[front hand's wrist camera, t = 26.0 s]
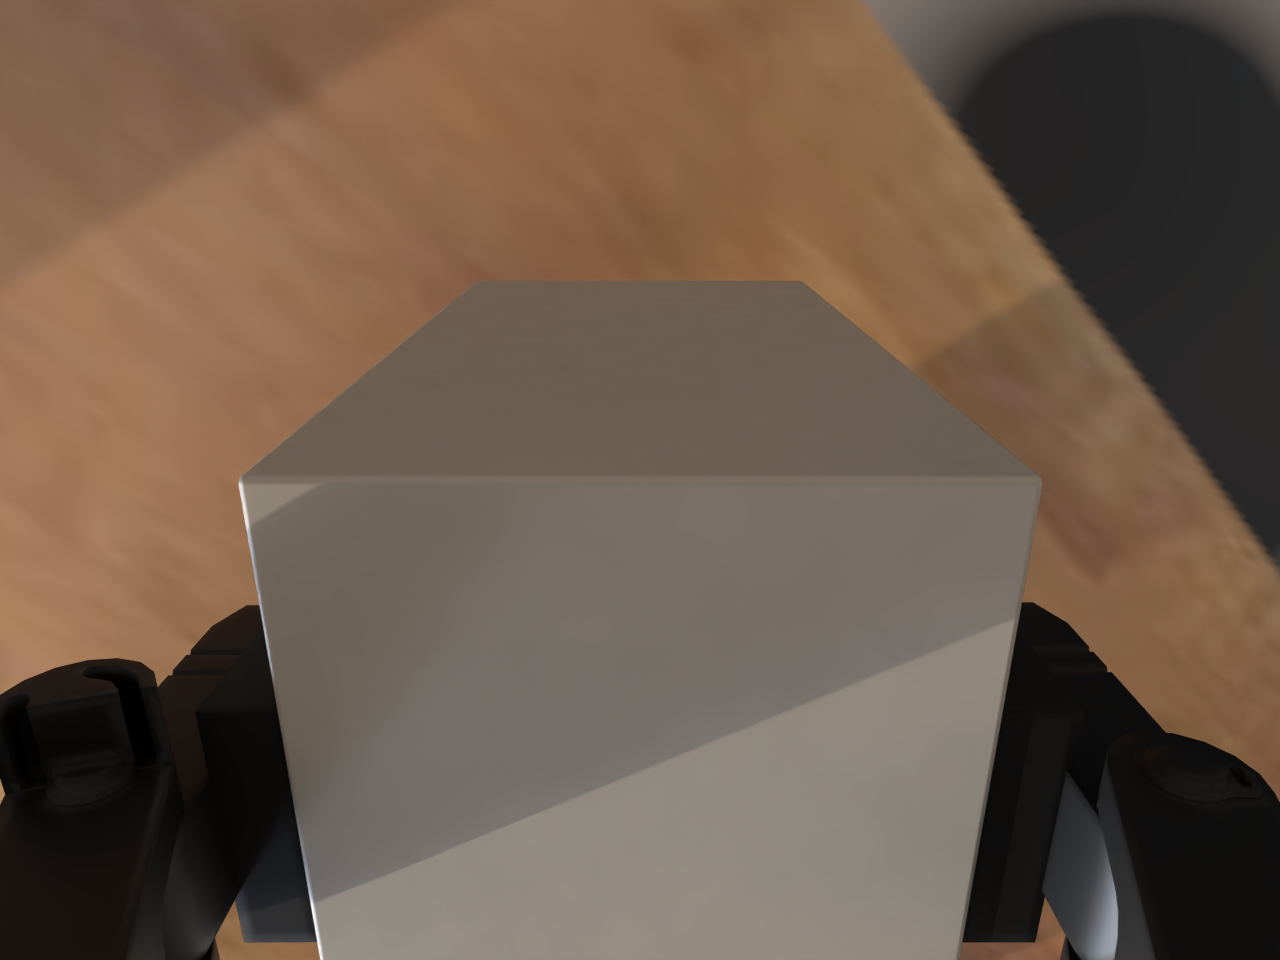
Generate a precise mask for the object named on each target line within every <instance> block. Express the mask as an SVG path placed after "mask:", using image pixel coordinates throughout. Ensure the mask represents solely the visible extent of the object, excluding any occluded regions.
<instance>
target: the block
mask: <svg viewBox="0 0 1280 960" xmlns="http://www.w3.org/2000/svg"><path fill="white" fill-rule="evenodd" d="M239 489H240V495H241V500H242V506H243V512H244V518H245V524H246V530H247V535H248V541H249V547H250V553H251V559H252V564H253V570H254V576H255V582H256V588H257V594H258V599H259V605H260V611H261V617H262V623H263V629H264V634H265V640H266V646H267V652H268V658H269V663H270V669H271V675H272V681H273V687H274V693H275V698H276V704H277V710H278V716H279V722H280V727H281V733H282V739H283V745H284V751H285V757H286V762H287V768H288V774H289V780H290V786H291V791H292V797H293V803H294V809H295V815H296V821H297V826H298V832H299V838H300V844H301V850H302V856H303V861H304V867H305V873H306V879H307V885H308V890H309V896H310V902H311V908H312V914H313V920H314V925H315V931H316V937H317V943H318V949H319V954H320V960H959V958H960V952H961V947H962V941H963V935H964V929H965V924H966V918H967V912H968V907H969V901H970V895H971V889H972V884H973V878H974V872H975V867H976V861H977V855H978V850H979V844H980V838H981V832H982V827H983V821H984V815H985V810H986V804H987V798H988V792H989V787H990V781H991V775H992V770H993V764H994V758H995V752H996V747H997V741H998V735H999V730H1000V724H1001V718H1002V713H1003V707H1004V701H1005V695H1006V690H1007V684H1008V678H1009V673H1010V667H1011V661H1012V655H1013V650H1014V644H1015V638H1016V633H1017V627H1018V621H1019V615H1020V610H1021V604H1022V598H1023V593H1024V587H1025V581H1026V576H1027V570H1028V564H1029V558H1030V553H1031V547H1032V541H1033V536H1034V530H1035V524H1036V518H1037V513H1038V507H1039V501H1040V496H1041V490H1042V480H1041V477H1040V476H1039V475H1038V474H1036V473H1035V472H1034V471H1033V470H1031V469H1030V468H1029V467H1028V466H1027V465H1025V464H1024V463H1023V462H1022V461H1020V460H1019V459H1018V458H1017V457H1016V456H1014V455H1013V454H1012V453H1011V452H1009V451H1008V450H1007V449H1006V448H1005V447H1003V446H1002V445H1001V444H1000V443H998V442H997V441H996V440H995V439H994V438H992V437H991V436H990V435H989V434H988V433H986V432H985V431H984V430H983V429H981V428H980V427H979V426H978V425H977V424H975V423H974V422H973V421H972V420H970V419H969V418H968V417H967V416H966V415H964V414H963V413H962V412H961V411H959V410H958V409H957V408H956V407H955V406H953V405H952V404H951V403H950V402H949V401H947V400H946V399H945V398H944V397H942V396H941V395H940V394H939V393H938V392H936V391H935V390H934V389H933V388H931V387H930V386H929V385H928V384H927V383H925V382H924V381H923V380H922V379H920V378H919V377H918V376H917V375H916V374H914V373H913V372H912V371H911V370H910V369H908V368H907V367H906V366H905V365H903V364H902V363H901V362H900V361H899V360H897V359H896V358H895V357H894V356H892V355H891V354H890V353H889V352H888V351H886V350H885V349H884V348H883V347H881V346H880V345H879V344H878V343H877V342H875V341H874V340H873V339H872V338H871V337H869V336H868V335H867V334H866V333H864V332H863V331H862V330H861V329H860V328H858V327H857V326H856V325H855V324H853V323H852V322H851V321H850V320H849V319H847V318H846V317H845V316H844V315H842V314H841V313H840V312H839V311H838V310H836V309H835V308H834V307H833V306H831V305H830V304H829V303H828V302H827V301H825V300H824V299H823V298H822V297H821V296H819V295H818V294H817V293H816V292H814V291H813V290H812V289H811V288H810V287H808V286H807V285H806V284H805V283H803V282H801V281H477V282H475V283H474V284H473V285H472V286H470V287H469V288H468V289H467V290H465V291H464V292H463V293H462V294H461V295H459V296H458V297H457V298H456V299H455V300H453V301H452V302H451V303H450V304H449V305H447V306H446V307H445V308H444V309H442V310H441V311H440V312H439V313H438V314H436V315H435V316H434V317H433V318H432V319H430V320H429V321H428V322H427V323H426V324H424V325H423V326H422V327H421V328H419V329H418V330H417V331H416V332H415V333H413V334H412V335H411V336H410V337H409V338H407V339H406V340H405V341H404V342H403V343H401V344H400V345H399V346H398V347H396V348H395V349H394V350H393V351H392V352H390V353H389V354H388V355H387V356H386V357H384V358H383V359H382V360H381V361H380V362H378V363H377V364H376V365H375V366H373V367H372V368H371V369H370V370H369V371H367V372H366V373H365V374H364V375H363V376H361V377H360V378H359V379H358V380H357V381H355V382H354V383H353V384H352V385H351V386H349V387H348V388H347V389H346V390H344V391H343V392H342V393H341V394H340V395H338V396H337V397H336V398H335V399H334V400H332V401H331V402H330V403H329V404H328V405H326V406H325V407H324V408H323V409H321V410H320V411H319V412H318V413H317V414H315V415H314V416H313V417H312V418H311V419H309V420H308V421H307V422H306V423H305V424H303V425H302V426H301V427H300V428H298V429H297V430H296V431H295V432H294V433H292V434H291V435H290V436H289V437H288V438H286V439H285V440H284V441H283V442H282V443H280V444H279V445H278V446H277V447H275V448H274V449H273V450H272V451H271V452H269V453H268V454H267V455H266V456H265V457H263V458H262V459H261V460H260V461H259V462H257V463H256V464H255V465H254V466H253V467H251V468H250V469H249V470H248V471H246V472H245V473H244V474H243V475H242V476H241V477H240V480H239Z"/></svg>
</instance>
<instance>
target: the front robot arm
mask: <svg viewBox="0 0 1280 960" xmlns="http://www.w3.org/2000/svg"><path fill="white" fill-rule="evenodd" d="M0 779H1V782H2V786H3V789H4V792H5V796H4V798H3V800H2V802H1V804H0V960H220V958H219V953H218V948H217V944H216V940H215V936H216V934H217V932H218V930H219V928H220V927H221V925H222V923H223V921H224V919H225V917H226V915H227V913H228V912H229V910H230V908H231V906H232V904H233V902H234V900H235V901H236V906H237V910H238V915H239V920H240V924H241V929H242V934H243V938H244V942H317V937H316V931H315V925H314V920H313V914H312V908H311V902H310V896H309V890H308V885H307V879H306V873H305V867H304V861H303V856H302V850H301V844H300V838H299V832H298V826H297V821H296V815H295V809H294V803H293V797H292V791H291V786H290V780H289V774H288V768H287V762H286V757H285V751H284V745H283V739H282V733H281V727H280V722H279V716H278V710H277V704H276V698H275V693H274V687H273V681H272V675H271V669H270V663H269V658H268V652H267V646H266V640H265V634H264V629H263V623H262V617H261V611H260V605H247V606H245V607H243V608H242V609H240V610H238V611H237V612H235V613H233V614H232V615H230V616H228V617H227V618H225V619H223V620H222V621H220V622H218V623H216V624H215V625H213V626H212V627H211V628H210V629H209V630H208V631H207V633H206V634H205V635H204V636H203V637H202V638H201V639H200V640H199V642H198V643H197V644H196V645H195V646H194V647H193V648H192V649H191V654H190V655H186V656H185V657H184V658H183V660H182V661H181V662H180V663H179V664H178V665H177V666H176V667H175V669H174V670H173V675H168V676H167V678H166V679H165V680H164V681H163V682H162V683H161V684H160V685H159V687H157V683H156V678H155V674H154V671H152V670H151V669H149V668H148V667H147V666H145V665H144V664H143V663H141V662H137V661H131V660H125V659H119V658H114V659H98V660H87V661H83V662H78V663H74V664H70V665H66V666H61V667H57V668H54V669H51V670H49V671H46V672H44V673H41V674H39V675H36V676H34V677H31V678H29V679H26V680H24V681H22V682H20V683H19V684H17V685H16V686H14V687H12V688H11V689H9V690H7V691H6V692H4V693H3V694H1V695H0ZM1045 897H1046V899H1047V901H1048V903H1049V905H1050V906H1051V908H1052V910H1053V912H1054V914H1055V916H1056V918H1057V919H1058V921H1059V923H1060V925H1061V927H1062V929H1063V931H1064V932H1065V934H1066V935H1065V940H1064V944H1063V948H1062V953H1061V957H1060V960H1280V802H1279V800H1278V798H1277V796H1276V794H1275V793H1274V792H1273V790H1272V789H1271V788H1270V786H1269V785H1268V784H1267V783H1266V781H1265V780H1264V779H1263V778H1262V776H1261V775H1260V774H1259V773H1258V772H1256V771H1255V770H1253V769H1252V768H1251V767H1249V766H1248V765H1246V764H1245V763H1244V762H1242V761H1241V760H1240V759H1238V758H1237V757H1235V756H1234V755H1232V754H1229V753H1227V752H1225V751H1223V750H1221V749H1219V748H1216V747H1214V746H1212V745H1210V744H1208V743H1206V742H1203V741H1199V740H1196V739H1192V738H1188V737H1184V736H1181V735H1177V734H1173V733H1166V732H1165V731H1164V730H1163V729H1162V728H1161V727H1160V726H1159V725H1158V723H1157V722H1156V721H1155V720H1154V719H1153V718H1152V717H1151V716H1150V715H1149V713H1148V712H1147V711H1146V710H1145V709H1144V708H1143V707H1142V706H1141V704H1140V703H1139V702H1138V701H1137V700H1136V699H1135V698H1134V697H1133V696H1132V694H1131V693H1130V692H1129V691H1128V690H1127V689H1126V688H1125V687H1124V686H1123V684H1122V683H1121V682H1120V681H1119V680H1118V679H1117V678H1116V677H1115V675H1114V674H1113V673H1112V672H1107V667H1106V665H1105V664H1104V663H1103V662H1102V661H1101V660H1100V659H1099V658H1098V656H1097V655H1096V654H1095V653H1094V652H1089V646H1088V645H1087V644H1086V643H1085V642H1084V641H1083V640H1082V639H1081V638H1080V636H1079V635H1078V634H1077V633H1076V632H1075V631H1074V630H1073V629H1072V627H1071V626H1070V625H1069V624H1068V623H1067V622H1065V621H1063V620H1062V619H1060V618H1058V617H1057V616H1055V615H1053V614H1051V613H1050V612H1048V611H1046V610H1045V609H1043V608H1041V607H1040V606H1038V605H1036V604H1035V603H1033V602H1022V604H1021V610H1020V615H1019V621H1018V627H1017V633H1016V638H1015V644H1014V650H1013V655H1012V661H1011V667H1010V673H1009V678H1008V684H1007V690H1006V695H1005V701H1004V707H1003V713H1002V718H1001V724H1000V730H999V735H998V741H997V747H996V752H995V758H994V764H993V770H992V775H991V781H990V787H989V792H988V798H987V804H986V810H985V815H984V821H983V827H982V832H981V838H980V844H979V850H978V855H977V861H976V867H975V872H974V878H973V884H972V889H971V895H970V901H969V907H968V912H967V918H966V924H965V929H964V935H963V941H962V942H1035V940H1036V935H1037V931H1038V926H1039V921H1040V917H1041V912H1042V907H1043V902H1044V898H1045Z"/></svg>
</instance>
